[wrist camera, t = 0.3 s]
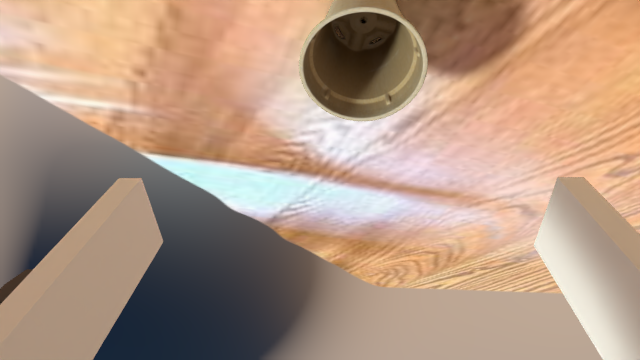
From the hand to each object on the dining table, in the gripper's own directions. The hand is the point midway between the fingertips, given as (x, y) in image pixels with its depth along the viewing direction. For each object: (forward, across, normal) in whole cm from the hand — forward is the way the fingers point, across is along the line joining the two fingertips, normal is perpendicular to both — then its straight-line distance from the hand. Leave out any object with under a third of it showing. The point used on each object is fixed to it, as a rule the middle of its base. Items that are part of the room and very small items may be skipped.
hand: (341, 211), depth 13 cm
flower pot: (+27, +2, +1) cm, 27 cm away
